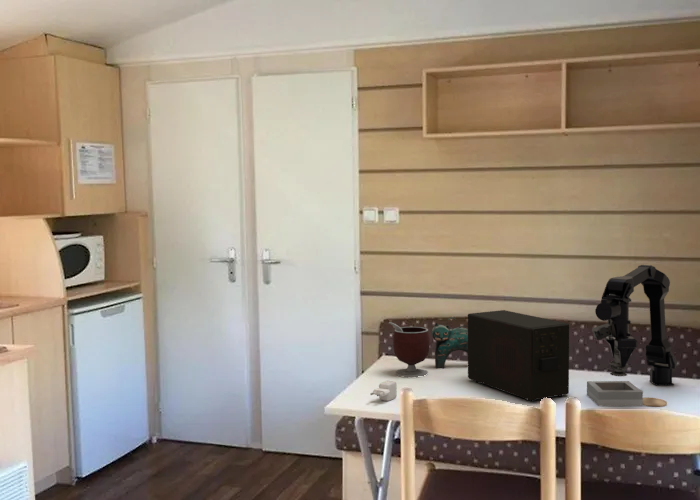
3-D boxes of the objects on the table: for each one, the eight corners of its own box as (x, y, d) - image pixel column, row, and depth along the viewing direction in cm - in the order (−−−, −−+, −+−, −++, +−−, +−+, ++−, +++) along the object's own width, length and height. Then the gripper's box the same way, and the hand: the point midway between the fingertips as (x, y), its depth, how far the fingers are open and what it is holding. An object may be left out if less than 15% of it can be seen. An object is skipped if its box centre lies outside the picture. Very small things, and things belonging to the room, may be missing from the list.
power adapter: (380, 406, 250) (380, 388, 250) (368, 403, 253) (367, 386, 253) (398, 398, 259) (398, 381, 259) (386, 396, 262) (386, 379, 262)
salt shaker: (631, 376, 249) (631, 340, 248) (613, 376, 249) (613, 340, 248) (623, 371, 255) (624, 336, 254) (606, 372, 255) (606, 336, 254)
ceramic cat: (433, 369, 300) (432, 319, 298) (430, 365, 306) (429, 316, 305) (483, 367, 302) (483, 317, 300) (479, 364, 308) (478, 314, 306)
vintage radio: (580, 397, 257) (580, 323, 255) (534, 405, 249) (535, 329, 247) (508, 374, 291) (508, 308, 289) (466, 380, 282) (466, 313, 280)
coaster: (661, 399, 253) (661, 397, 253) (671, 406, 244) (671, 404, 244) (633, 399, 253) (633, 397, 253) (642, 406, 244) (642, 405, 244)
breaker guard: (628, 394, 260) (628, 381, 259) (642, 405, 246) (642, 391, 246) (586, 394, 260) (586, 381, 260) (598, 405, 246) (598, 392, 246)
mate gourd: (430, 369, 299) (430, 319, 298) (429, 378, 286) (428, 325, 284) (391, 369, 302) (390, 318, 300) (387, 377, 288) (387, 325, 287)
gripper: (587, 312, 260) (586, 357, 261) (602, 322, 242) (602, 370, 243) (620, 311, 260) (620, 357, 261) (638, 321, 241) (637, 370, 242)
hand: (619, 363), depth 252 cm, fingers closed on salt shaker, 8 cm apart
